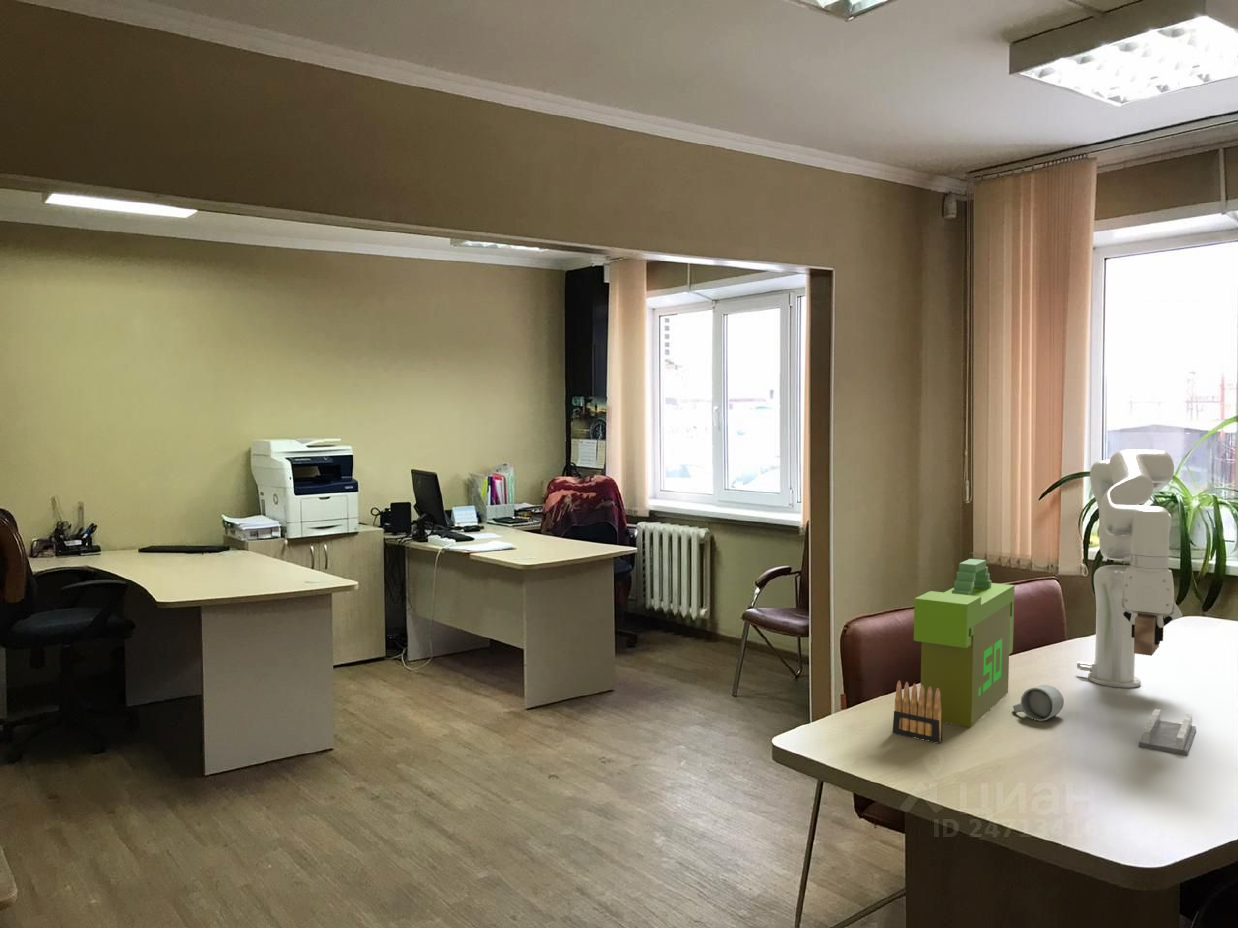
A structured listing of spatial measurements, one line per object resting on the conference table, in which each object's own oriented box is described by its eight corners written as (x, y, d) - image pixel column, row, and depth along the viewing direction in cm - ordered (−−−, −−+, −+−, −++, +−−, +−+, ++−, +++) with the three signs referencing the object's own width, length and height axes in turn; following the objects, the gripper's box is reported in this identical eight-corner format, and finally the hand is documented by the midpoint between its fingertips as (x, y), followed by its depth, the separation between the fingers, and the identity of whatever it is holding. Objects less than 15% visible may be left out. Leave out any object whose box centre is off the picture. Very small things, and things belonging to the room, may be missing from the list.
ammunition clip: (942, 741, 206) (943, 687, 206) (939, 743, 205) (940, 689, 204) (895, 730, 213) (896, 678, 213) (892, 732, 212) (893, 680, 211)
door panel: (1133, 653, 212) (1134, 618, 212) (1141, 644, 222) (1143, 610, 222) (1151, 655, 210) (1152, 619, 210) (1158, 646, 220) (1160, 612, 220)
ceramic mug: (1065, 716, 224) (1066, 684, 224) (1053, 724, 219) (1053, 691, 218) (1020, 707, 232) (1021, 676, 232) (1007, 715, 226) (1007, 683, 226)
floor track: (1138, 746, 204) (1139, 730, 204) (1150, 722, 220) (1151, 708, 220) (1187, 755, 199) (1187, 739, 199) (1195, 730, 215) (1196, 715, 215)
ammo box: (963, 734, 211) (967, 578, 210) (911, 724, 218) (915, 572, 216) (1011, 688, 248) (1015, 555, 246) (965, 681, 255) (969, 551, 253)
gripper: (1106, 561, 217) (1103, 640, 218) (1189, 568, 208) (1187, 650, 208) (1112, 557, 223) (1109, 634, 224) (1193, 564, 214) (1190, 644, 214)
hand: (1147, 641), depth 216 cm, fingers closed on door panel, 3 cm apart
